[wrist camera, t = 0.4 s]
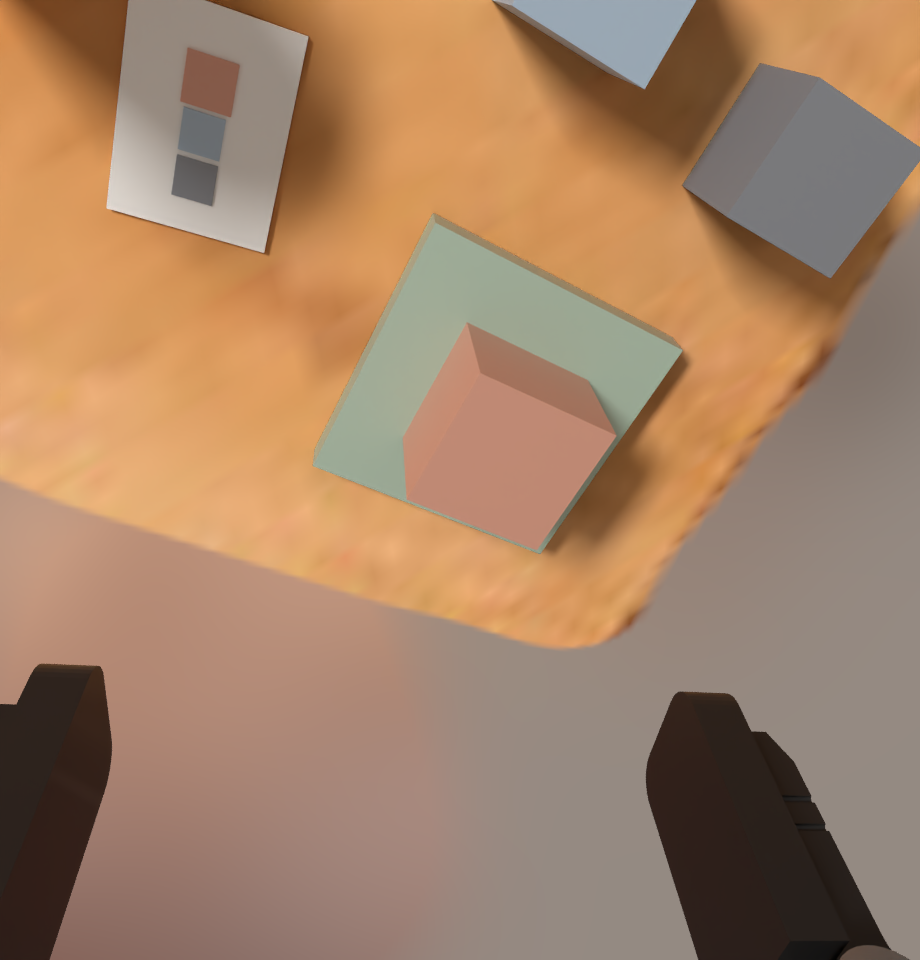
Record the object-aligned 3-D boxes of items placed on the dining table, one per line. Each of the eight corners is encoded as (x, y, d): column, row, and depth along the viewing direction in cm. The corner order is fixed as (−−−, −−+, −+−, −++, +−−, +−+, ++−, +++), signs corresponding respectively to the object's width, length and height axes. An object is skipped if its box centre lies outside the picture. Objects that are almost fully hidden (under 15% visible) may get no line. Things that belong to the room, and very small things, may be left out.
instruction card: (132, -26, 28) (130, -26, 27) (308, 36, 29) (308, 36, 29) (107, 206, 32) (105, 209, 31) (264, 251, 33) (263, 253, 33)
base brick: (466, 322, 34) (480, 373, 30) (587, 380, 36) (616, 435, 31) (402, 437, 36) (406, 499, 32) (518, 486, 38) (536, 550, 34)
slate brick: (759, 62, 31) (819, 77, 27) (855, 128, 33) (926, 152, 28) (681, 185, 33) (726, 216, 29) (774, 240, 35) (830, 278, 31)
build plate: (432, 212, 33) (435, 222, 31) (672, 337, 37) (683, 350, 35) (314, 449, 38) (312, 465, 37) (535, 536, 42) (540, 553, 40)
